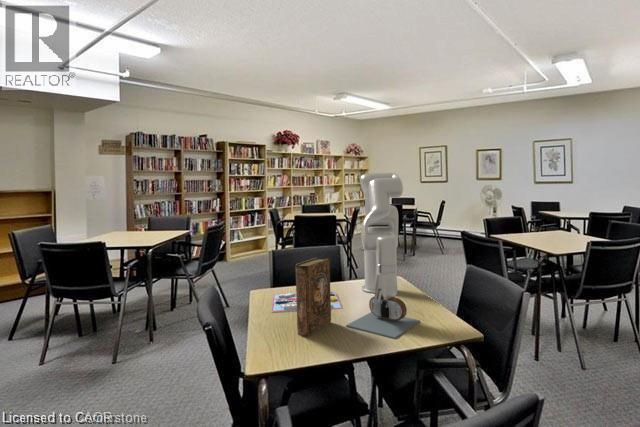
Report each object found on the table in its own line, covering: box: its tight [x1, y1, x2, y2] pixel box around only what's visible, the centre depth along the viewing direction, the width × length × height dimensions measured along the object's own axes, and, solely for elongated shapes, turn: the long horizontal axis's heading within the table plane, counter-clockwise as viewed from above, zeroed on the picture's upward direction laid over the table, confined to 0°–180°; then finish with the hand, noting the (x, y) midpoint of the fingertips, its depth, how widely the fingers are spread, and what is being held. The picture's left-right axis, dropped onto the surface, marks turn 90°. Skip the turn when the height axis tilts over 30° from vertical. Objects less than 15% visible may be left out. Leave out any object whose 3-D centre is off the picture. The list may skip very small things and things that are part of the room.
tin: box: [368, 295, 408, 321], centre depth 144 cm, size 15×3×8 cm, turn 51°
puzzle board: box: [271, 291, 343, 314], centre depth 172 cm, size 30×23×3 cm
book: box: [295, 257, 332, 338], centre depth 139 cm, size 16×6×25 cm, turn 150°
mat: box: [346, 311, 421, 340], centre depth 142 cm, size 20×20×1 cm
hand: (387, 315), depth 145 cm, fingers closed on tin, 2 cm apart
